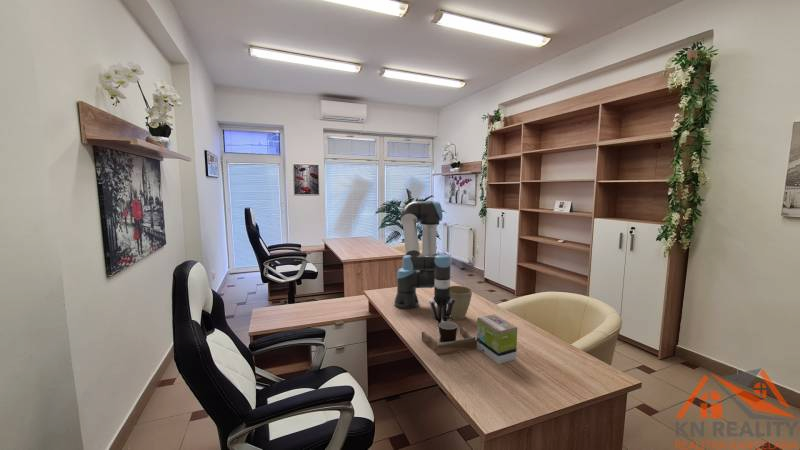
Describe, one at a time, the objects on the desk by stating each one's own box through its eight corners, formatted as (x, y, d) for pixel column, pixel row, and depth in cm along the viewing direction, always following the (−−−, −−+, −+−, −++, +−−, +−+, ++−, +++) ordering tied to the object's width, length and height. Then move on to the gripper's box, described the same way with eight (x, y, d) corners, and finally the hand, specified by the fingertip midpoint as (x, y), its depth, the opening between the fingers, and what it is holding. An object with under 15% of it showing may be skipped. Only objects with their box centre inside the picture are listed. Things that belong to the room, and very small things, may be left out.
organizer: (421, 340, 151) (421, 330, 151) (462, 333, 158) (462, 324, 158) (435, 356, 137) (435, 345, 136) (479, 348, 144) (479, 338, 143)
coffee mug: (455, 352, 140) (455, 330, 139) (436, 348, 143) (436, 327, 142) (460, 340, 151) (460, 320, 150) (442, 337, 154) (442, 317, 153)
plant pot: (452, 324, 169) (453, 295, 167) (440, 313, 183) (440, 287, 181) (476, 320, 174) (477, 292, 172) (462, 310, 188) (463, 284, 186)
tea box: (475, 348, 144) (476, 316, 142) (493, 344, 148) (494, 313, 146) (498, 365, 130) (499, 330, 128) (517, 359, 134) (518, 326, 132)
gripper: (433, 290, 147) (432, 338, 150) (458, 287, 152) (457, 334, 154) (426, 286, 154) (426, 332, 157) (450, 283, 159) (449, 328, 161)
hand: (441, 333), depth 156 cm, fingers closed
